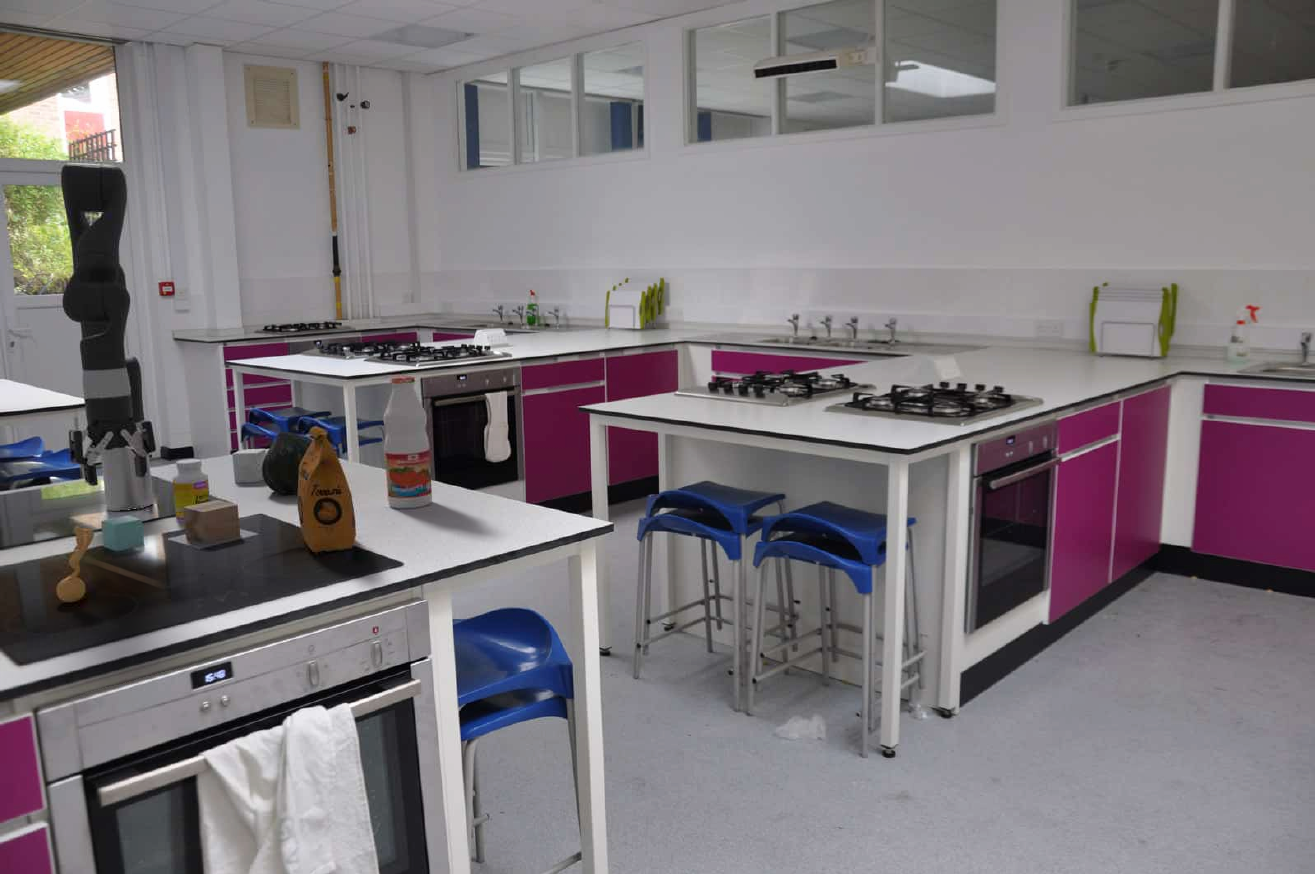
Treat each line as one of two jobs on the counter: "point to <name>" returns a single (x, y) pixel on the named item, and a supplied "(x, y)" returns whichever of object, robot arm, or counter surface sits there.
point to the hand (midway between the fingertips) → (117, 480)
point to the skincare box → (248, 465)
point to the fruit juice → (406, 447)
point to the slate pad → (200, 545)
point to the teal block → (122, 533)
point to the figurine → (73, 586)
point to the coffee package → (324, 497)
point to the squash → (284, 462)
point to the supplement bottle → (189, 486)
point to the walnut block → (211, 521)
